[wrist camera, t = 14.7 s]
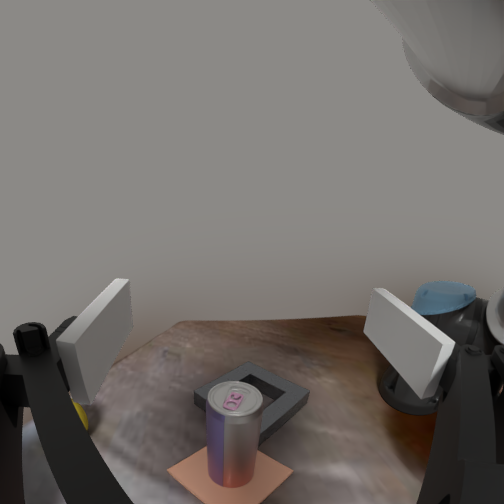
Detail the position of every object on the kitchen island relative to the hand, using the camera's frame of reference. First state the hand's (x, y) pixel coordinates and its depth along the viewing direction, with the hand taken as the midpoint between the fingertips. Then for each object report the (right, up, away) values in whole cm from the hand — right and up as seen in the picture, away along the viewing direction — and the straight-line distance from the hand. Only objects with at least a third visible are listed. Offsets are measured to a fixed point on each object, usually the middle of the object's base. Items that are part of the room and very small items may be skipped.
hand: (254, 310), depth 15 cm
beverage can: (-3, -26, +16) cm, 31 cm away
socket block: (0, -23, +32) cm, 39 cm away
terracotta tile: (-3, -27, +16) cm, 31 cm away
